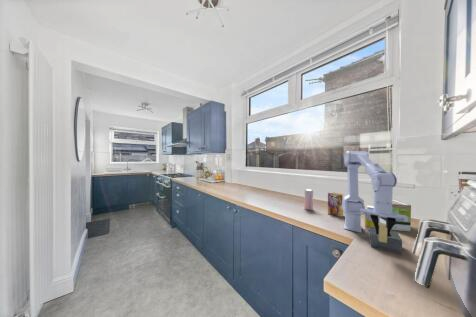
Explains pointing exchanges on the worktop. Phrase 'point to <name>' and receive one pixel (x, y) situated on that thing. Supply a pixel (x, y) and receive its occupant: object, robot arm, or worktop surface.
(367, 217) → the supplement bottle
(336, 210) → the candy box
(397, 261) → the worktop surface
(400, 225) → the tea box
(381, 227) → the yellow flat block
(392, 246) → the coin box
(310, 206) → the beverage can
